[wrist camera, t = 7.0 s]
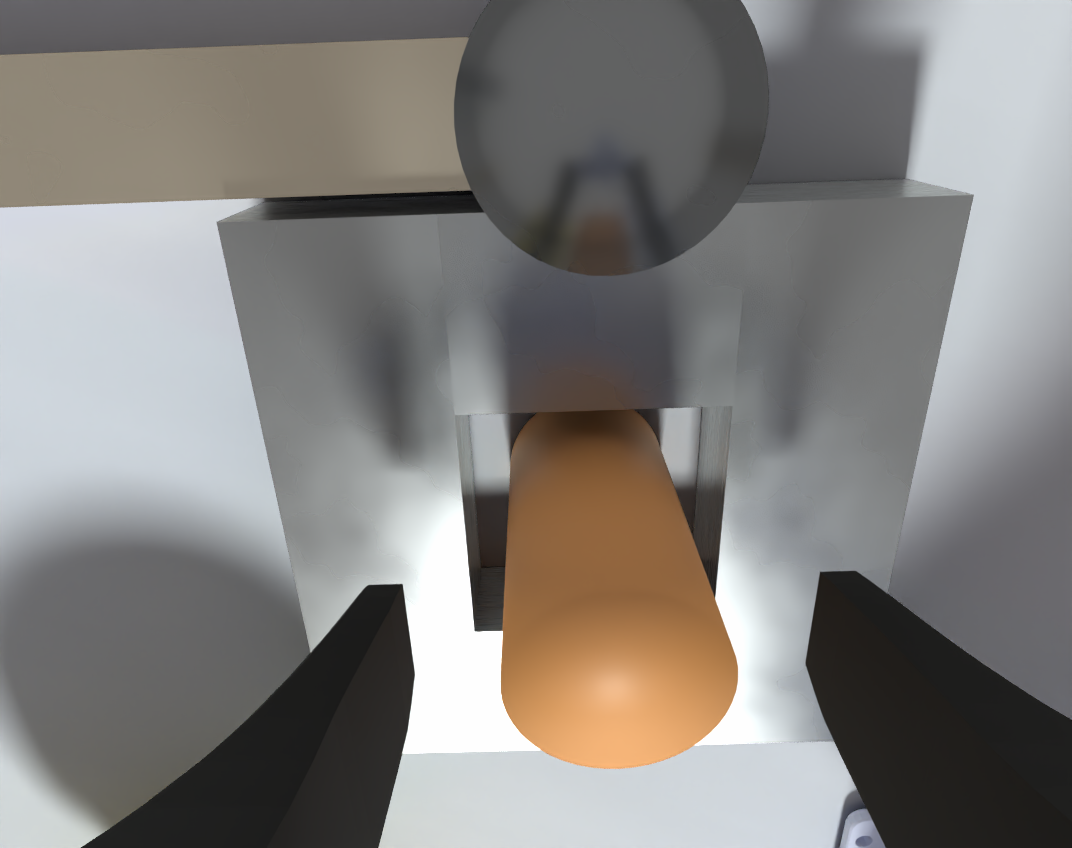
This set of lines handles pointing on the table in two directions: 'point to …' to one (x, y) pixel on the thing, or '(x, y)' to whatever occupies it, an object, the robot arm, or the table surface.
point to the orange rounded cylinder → (606, 598)
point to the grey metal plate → (531, 304)
